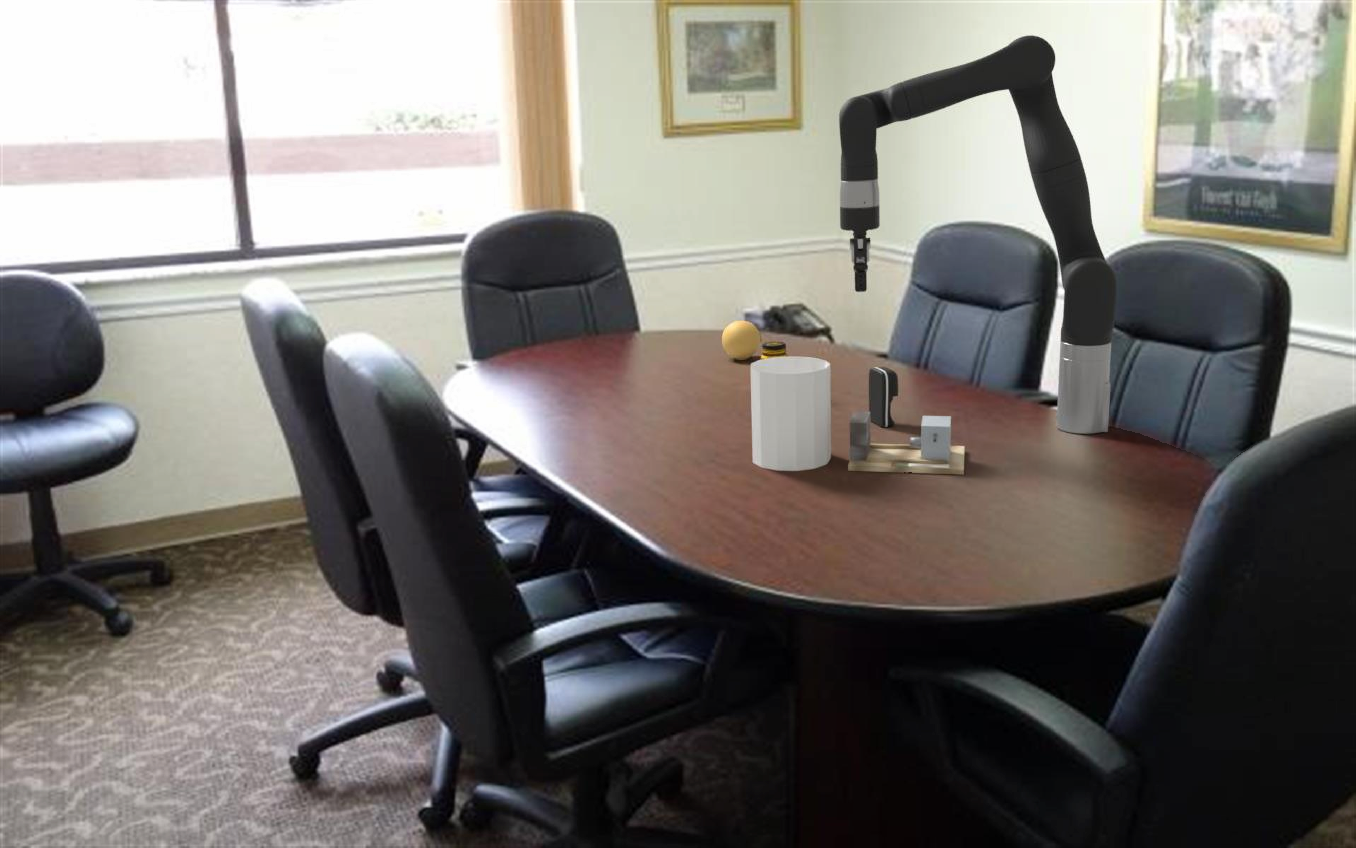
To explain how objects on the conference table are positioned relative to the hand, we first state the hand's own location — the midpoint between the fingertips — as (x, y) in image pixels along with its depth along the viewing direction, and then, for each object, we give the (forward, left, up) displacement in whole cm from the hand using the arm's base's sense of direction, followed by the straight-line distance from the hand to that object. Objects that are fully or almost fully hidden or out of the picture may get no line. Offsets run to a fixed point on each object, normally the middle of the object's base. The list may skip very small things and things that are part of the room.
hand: (860, 287), depth 232 cm
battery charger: (-4, -2, -28) cm, 29 cm away
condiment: (+22, -24, -28) cm, 43 cm away
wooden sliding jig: (-10, +23, -28) cm, 38 cm away
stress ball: (+36, -60, -28) cm, 75 cm away
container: (+11, +24, -28) cm, 38 cm away
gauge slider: (-14, +25, -27) cm, 39 cm away
